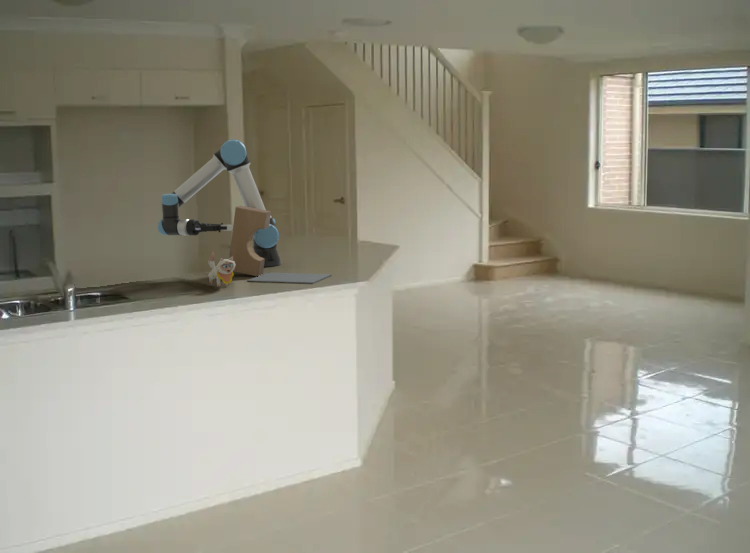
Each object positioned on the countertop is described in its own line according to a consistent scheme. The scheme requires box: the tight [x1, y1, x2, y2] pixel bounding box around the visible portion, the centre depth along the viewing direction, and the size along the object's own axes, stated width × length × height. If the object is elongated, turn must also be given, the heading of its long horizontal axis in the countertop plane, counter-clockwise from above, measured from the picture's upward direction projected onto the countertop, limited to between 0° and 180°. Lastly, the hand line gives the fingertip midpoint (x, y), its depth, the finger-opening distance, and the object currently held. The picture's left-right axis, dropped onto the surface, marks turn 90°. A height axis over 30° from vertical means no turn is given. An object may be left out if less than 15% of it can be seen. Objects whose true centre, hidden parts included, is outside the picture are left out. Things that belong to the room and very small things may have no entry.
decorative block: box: [228, 205, 272, 277], centre depth 412 cm, size 15×8×30 cm, turn 78°
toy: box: [207, 251, 236, 288], centre depth 385 cm, size 9×19×15 cm, turn 36°
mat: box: [246, 272, 333, 285], centre depth 403 cm, size 22×32×1 cm
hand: (234, 227), depth 411 cm, fingers closed
